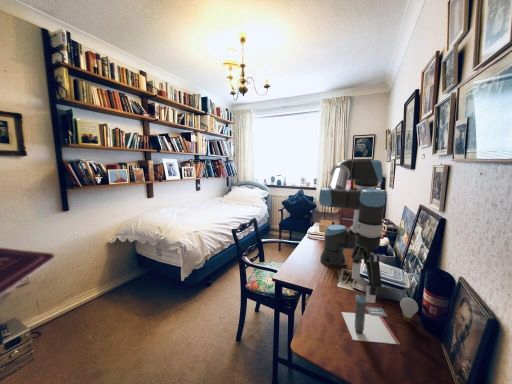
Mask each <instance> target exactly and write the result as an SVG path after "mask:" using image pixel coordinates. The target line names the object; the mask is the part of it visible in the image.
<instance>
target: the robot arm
mask: <svg viewBox="0 0 512 384" xmlns="http://www.w3.org/2000/svg"><path fill="white" fill-rule="evenodd" d="M348 181H354V182H353V184H354V185H355V187H356V189H347V184H348ZM379 183H383V164H382V162H381V160H379V159H372V158H370V159H369V158H367V159H366V158H365V159H363V158H362V159H360V158H358V159H357V158H348V159H344V160H340V161H339V162H337V163H336V164H334V165H333V166H332V168H331V170H330V180H329V182H328V186H327V187H322V188H321V189H320V190H319V196H318V197H319V198H318V201H319V202H318V203H319V205H320V206H322V207H328V208H339V209H347V210H354V212H353V213H354V214H353V223H352V225H350V227H349V229H348V228H346V226H345V225H342V224H331V225H328V226H326V227H325V231H324V243H323V246H324V247H323V250H322V252H321V255H320V256H319V257H320V262H321V263H322V264H323V265H325V266H328V267H330V268H331V267H332V268H344V267H345V266H346V264H347V263H346V262H347V260H346V255H345V251H344V250H345V249H347V250H350V251H351V250H352V252H351V255H350V258H351V259H352V270H351V279H352V280H360V277H361V276H360V275H361V268H362V267H361V266H362V262H363V263H364V265H365V268H366V272H367V279H368V283H366V294H365V297H366V303H371V304H372V303H374V304H375V303H376V297H377V289H378V288H379V289H381V288H382V287H383V286H382V278H381V277H382V276H381V269H380V268H381V267H380V266H381V265H380V257H381V256H380V255H378V254H375V253H376V252H375V250H376V249H378V248H379V247H380V246H381V238H382V237H381V236H382V231H383V220H384V219H383V218H384V214H385V207H386V205H385V204H386V202H387V201H386V192H385V191H384V190H380V189H376V188H377V187H378V186H379ZM362 260H363V261H362Z"/></svg>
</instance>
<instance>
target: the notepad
mask: <svg viewBox="0 0 512 384" xmlns="http://www.w3.org/2000/svg"><path fill="white" fill-rule="evenodd" d="M341 314H342V318H343V320H344V321H345V324H346V327H347V329H348V332H349V334H350V337H351V339H352V341H357V342H358V341H360V342H371V343H379V344H380V343H381V344H390V345H401V343H400V341H399V340H398V339H397V337H396V336H395V334H394V333H393V331H392V329H391V328H390V327H389V325H388V324H387V322H386V320H385V319H384V318H383V317H382V316H374V315H370V314H369V313H368V314H367V313H365V321H364V331H363V334H358V333H356V331H355V312H345V311H342V312H341Z"/></svg>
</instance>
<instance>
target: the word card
mask: <svg viewBox="0 0 512 384" xmlns="http://www.w3.org/2000/svg"><path fill="white" fill-rule="evenodd" d="M365 310H366V311H367V313H368V314H370V315H374V316H382V318H383V317H384V318H388V317H389V316H388V315H387V313H386V312H385V310H384V309H383V308H382V307H373V306H365Z"/></svg>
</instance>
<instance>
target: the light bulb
mask: <svg viewBox="0 0 512 384" xmlns="http://www.w3.org/2000/svg"><path fill="white" fill-rule="evenodd" d="M399 301H400V302H399V305H400V308H401V310H402V319H403V321H405V322H406V323H409V322H410V323H411V322H412V317H414V315H415V314H416V313H417V312H418V311H419V306H418V303H417V302H416V300H414V299H413V298H411V297H407V296H405V297H403V298H401V299H400V300H399Z"/></svg>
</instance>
